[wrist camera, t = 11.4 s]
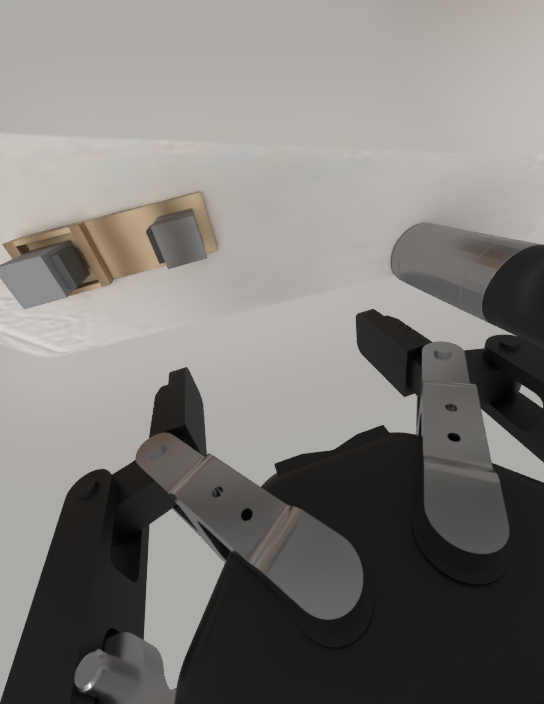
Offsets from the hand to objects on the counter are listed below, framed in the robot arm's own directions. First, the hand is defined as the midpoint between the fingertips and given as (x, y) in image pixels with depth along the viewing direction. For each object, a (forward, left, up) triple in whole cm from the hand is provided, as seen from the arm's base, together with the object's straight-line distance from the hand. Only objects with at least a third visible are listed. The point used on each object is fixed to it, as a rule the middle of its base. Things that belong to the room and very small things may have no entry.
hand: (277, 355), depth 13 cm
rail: (+11, -2, -30) cm, 32 cm away
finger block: (+18, -2, -28) cm, 33 cm away
